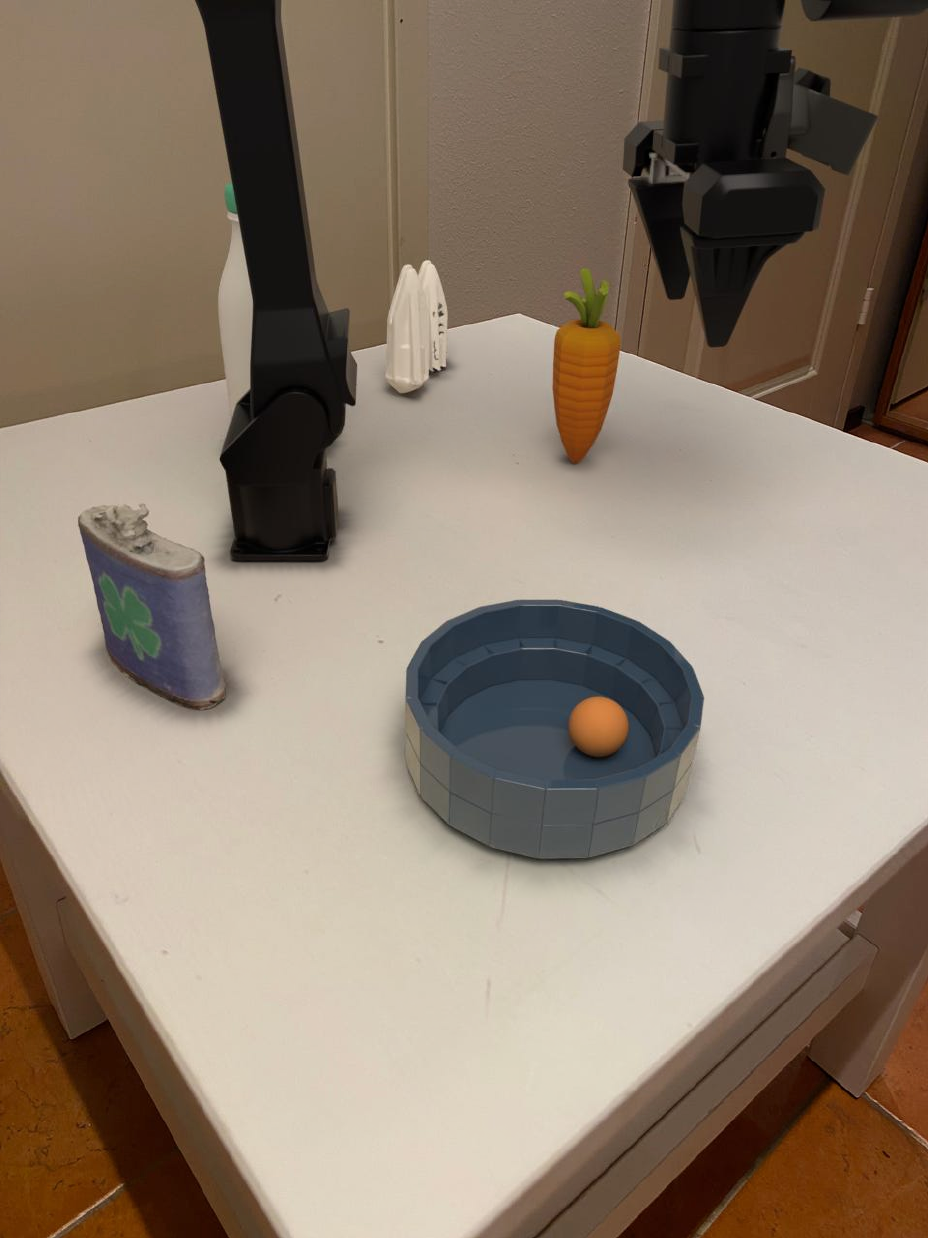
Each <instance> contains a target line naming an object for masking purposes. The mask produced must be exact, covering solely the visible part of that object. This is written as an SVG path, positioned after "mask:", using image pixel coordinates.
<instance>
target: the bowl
mask: <svg viewBox="0 0 928 1238" xmlns="http://www.w3.org/2000/svg"><path fill="white" fill-rule="evenodd" d="M404 697H405V698H404V699H405V741H406V742H405V746H406V747H405V748H406V749H405V751H406V767H407V770H408V771H409V773H410V775H411V776H410V777H411V779H412V780H413V783H414V785H415V787H416V789H417V792H418V794H419V796H420V797H421V799H422V800H424V802H426V804H427V805H428V806H430V808H431V809H432V810H433V811H434V812H436V814H437V815H438V816H440V818H441V819H442V820H443V821H444V822H445V823H446V824H447V825H448V826H450V827H451V828H454V829H456V830H458V831H460V832H461V833H463V834H465V835H467V836H469V837H471V838H472V839H475V840H477V841H479V842H480V843H482V844H484V845H485V846H487V847H490V848H492V849H497V850H500V851H504V852H509V853H513V854H517V855H521V856H525V857H530V858H533V859H587V858H593V857H596V856H597V857H598V856H600V855H603V854H608V853H610V852H614V851H617V850H622V849H625V848H628V847H631V846H634V845H635V844H637V843H639V842H640V841H641V840H643V839H644V838H646V837H647V836H649V835H651V834H652V833H653V832H655V831H656V830H658V829H659V828H661V827H662V826H664V825H666V823H668V821H669V820H670V818H671V817H672V816H673V814H674V812H675V811H676V809H677V808H678V806H679V805H680V804H681V802H682V800H683V798H684V797H685V795H686V794H687V789H688V785H689V781H690V776H691V771H692V767H693V762H694V759H695V754H696V750H697V746H698V741H699V737H700V731H701V728H702V722H703V721H702V720H703V711H704V704H705V703H704V702H705V695H704V693H703V690H702V688H701V684H700V682H699V680H698V677H697V674H696V672H695V668H694V667H693V665H692V664H691V663H690V662H689V660H687V659H686V658H685V657H684V655H683V654H682V653H681V652H680V651H679V650H678V649H677V647H676V646H675V645H674V643H672V641H670V640H669V639H667V638H665V637H664V636H662V635H661V634H660V633H658V632H657V631H655V630H654V629H651V628H650V627H648V626H647V625H646V624H644V623H642V622H641V621H639V620H637V619H634V618H632V617H629V616H627V615H623V614H621V613H618V612H616V611H612V610H610V609H608V608H605V607H603V606H602V607H601V606H598V605H593V604H587V603H580V602H576V601H569V600H565V599H514V600H508V601H503V602H497V603H493V604H486V605H482V606H478V607H476V608H474V609H470V610H469V611H467V612H463V613H462V614H460V615H456V616H454V617H453V618H449V619H448V620H446V621H445V622H444V623H442V624H441V625H439V627H438V628H436V629H435V630H433V632H431V633H430V634H429V635H427V636H426V637H425V638H424V639H422V641H421V642H420V643H419V645H418V647H417V648H416V651H415V652H414V654H413V656H412V658H411V659H410V662H409V663H408V665H407V667H406V670H405V696H404ZM591 697H605V698H608V699H611V700H613V701H615V702H616V703H617V704H619V705H620V706H621V708H622V709H623V710H624V712H625V714H626V716H627V719H628V724H629V731H628V736H627V738H626V741H625V742H624V744H623V745H622V747H621V748H620V749H619V750H617V751H616V752H614V753H613V754H611V755H608V756H603V757H595V756H590V755H587V754H585V753H583V752H582V751H580V750H579V749H578V748H577V747H576V746H575V745H574V743H573V741H572V740H571V737H570V734H569V729H568V723H569V718H570V715H571V713H572V711H573V709H574V708H575V707H576V706H577V705H578V704H579V703H580V702H582V701H583V700H585V699H588V698H591Z"/></svg>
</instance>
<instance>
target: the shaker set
mask: <svg viewBox="0 0 928 1238" xmlns="http://www.w3.org/2000/svg"><path fill="white" fill-rule="evenodd" d="M447 305H448V304H447V301H446V296H445V293H444V290H443V285H442V282H441V279H440V276H439V273H438V270H437V268H436V266H435V265H434V263H432V261H431V260H428V259H427V260H424V261H423V262H422V263H421V265H420V268H419V270H418V272H417V270H416V269H415V268H413V265H412V264H405V265H403V267H402V268H401V271H400V273H399V277H398V280H397V284H396V286H395V290H394V292H393V297H392V300H391V303H390V307H389V311H388V314H387V321H386V348H385V349H386V352H385V353H386V355H385V356H386V357H385V360H386V361H385V375H384V376H385V380H386V381H387V382H388V384H389V385H390V386H392V387H393V388H394V390H396V391H397V392H398V393H399V394H405V393H410V392H412V391H415V390H417V389H419V388H421V387H422V386H423V385H424V383H425V382H426V381H428V380H429V378H430V372H434V369H435V370H437V371H438V372H439V371H441V370H442V367H443V368H446V367H447V353H448V351H447V349H448V321H449V320H448V319H449V318H448V315H449V314H448V306H447Z"/></svg>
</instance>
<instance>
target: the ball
mask: <svg viewBox="0 0 928 1238" xmlns="http://www.w3.org/2000/svg"><path fill="white" fill-rule="evenodd" d="M568 729H569V734H570V737H571V740H572V741H573V743H574V745H575V746H576V747H577V748H578V749H579V750H580V751H582V752H583V753H585V754H587V755H590V756H595V757H603V756H608V755H611V754H613V753H614V752H616V751H617V750H619V749H620V748H621V747H622V745H623V744H624V742H625V741H626V738H627V736H628V731H629V724H628V719H627V716H626V714H625V712H624V710H623V709H622V708H621V706H620V705H619V704H617V703H616V702H615V701H613V700H611V699H608V698H605V697H591V698H588V699H585V700H583V701H582V702H580V703H579V704H578V705H577V706H576V707H575V708H574V709H573V711H572V713H571V715H570V718H569V723H568Z"/></svg>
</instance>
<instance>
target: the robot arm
mask: <svg viewBox="0 0 928 1238" xmlns="http://www.w3.org/2000/svg"><path fill="white" fill-rule="evenodd" d="M194 2H195V4H196V7H197V9H198V12H199V15H200V18H201V20H202V24H203V27H204V33H205V39H206V45H207V49H208V55H209V60H210V67H211V72H212V77H213V83H214V90H215V95H216V101H217V106H218V111H219V119H220V124H221V129H222V133H223V134H222V135H223V139H224V146H225V152H226V157H227V162H228V168H229V173H230V180H231V183H232V186H233V191H234V197H235V203H236V208H237V214H238V220H239V225H240V231H241V237H242V242H243V248H244V254H245V259H246V265H247V271H248V276H249V282H250V288H251V293H252V299H253V318H252V338H251V358H250V389H249V390H248V391H247V392H246V393H245V394H244V396H243V397H242V398H241V399H240V400H239V401H238V402H237V403H236V406H235V409H234V413H233V416H232V419H231V418H230V423H229V426H228V428H227V432H226V436H225V439H224V441H223V442H224V443H223V446H222V449H221V452H220V455H219V462H220V465H221V466H222V468H223V469H224V472H225V477H226V484H227V492H228V499H229V506H230V514H231V520H232V521H231V522H232V527H233V529H232V530H233V535H234V537H233V541H232V543H231V547H230V550H229V555H230V559H231V560H233V561H325V560H326V559H328V557H329V552H330V546H331V540H335V538H337V535H338V529H339V528H338V527H339V522H340V521H339V520H340V518H339V517H340V515H339V501H338V484H337V471H336V470H335V469H334V468H332V467H328V463H327V448H329V447H330V446H331V445H332V444H333V443H334V442H335V441H336V440H337V439H338V438H339V437H340V436H341V435H342V433H343V431H344V428H345V425H346V414H347V413H346V411H347V405H348V406H350V407H354V406H356V403H357V383H358V382H357V381H358V363H357V360H356V359H355V357H354V356H353V354H352V350H351V347H350V340H349V339H350V338H349V337H350V336H349V335H350V319H351V318H350V316H351V309H350V308H349V307H346V308H342V309H338V310H334V311H330V312H329V309H328V307H327V304H326V302H325V298H324V297H323V294H322V292H321V289H320V286H319V283H318V278H317V273H316V267H315V258H314V251H313V243H312V236H311V229H310V221H309V215H308V214H309V213H308V207H307V198H306V193H305V191H306V190H305V185H304V177H303V176H304V175H303V170H302V162H301V156H300V148H299V141H298V133H297V126H296V118H295V111H294V103H293V97H292V96H293V95H292V88H291V82H290V81H291V80H290V74H289V66H288V65H289V64H288V60H287V59H288V58H287V53H286V43H285V36H284V30H283V23H282V0H194ZM800 3H801V7H802V10H803V13H804V15H805V18H807V19H808V20H809V21H810V22H829V21H850V20H865V19H866V20H867V19H885V18H886V19H887V18H888V19H889V18H906V17H917V16H920V15H922V14H924V13H925V12H926V11H927V10H928V0H800ZM785 7H786V0H672V11H671V25H670V34H669V35H670V36H669V47H659V51H658V53H659V54H658V70H660V71H663V72H664V73H666V74H667V76H666V87H665V101H664V113H663V114H664V115H663V120H646V121H645V120H644V121H639V122H638V123H637V124H636V125H635V126H634V127H633V128H632V129H631V130H630V132H628V134H627V135H626V136H625V137H624V139H623V141H624V142H623V159H622V161H623V162H622V170H623V171H624V173H626V174H627V175H629V176H630V177H631V178H628V179H627V184H628V188H629V189H630V191H631V194H632V196H633V199H634V202H635V205H636V208H637V212H638V214H639V217H640V220H641V222H642V226H643V229H644V232H645V235H646V238H647V241H648V244H649V246H650V250H651V253H652V256H653V259H654V262H655V265H656V269H657V271H658V275H659V278H660V281H661V285H662V287H663V290H664V293H665V297H666V298H667V299H668V300H669V301H677V300H682V299H684V298H685V296H686V293H687V289H688V284H689V281H690V279H691V284H692V288H693V292H694V293H693V294H694V297H695V301H696V306H697V311H698V315H699V319H700V323H701V328H702V331H703V335H704V339H705V343H706V345H707V346H708V347H709V348H711V349H712V348H724V347H726V346H728V343H729V341H730V339H731V337H732V334H733V332H734V330H735V328H736V325H737V323H738V321H739V318H741V317H740V316H741V314H742V312H743V310H744V308H745V305H746V303H747V301H748V299H749V297H750V294H751V292H752V290H753V288H754V285H755V283H756V281H757V280H758V278H759V275H760V274H761V272H762V270H763V268H764V266H765V264H766V263H767V261H769V259H770V258H772V256H774V255H775V254H776V253H778V252H779V251H781V250H782V249H783V248H784V247H786V246H787V245H791V244H792V245H793V244H796V243H798V242H799V241H801V239H803V237H804V236H805V234H806V233H807V232H808V233H809V232H814V231H816V230H818V229H819V228H820V222H821V217H822V211H823V205H824V199H825V194H826V188H825V186H824V185H823V184H822V183H821V181H820V180H819V179H818V178H817V176H816V175H815V173H814V172H813V171H812V170H811V169H810V168H807V167H805V166H803V165H801V164H800V163H797V162H796V161H794V160H792V159H790V158H787V157H786V156H787V150H789V151H793V152H795V153H798V154H800V155H801V156H802V157H805V158H808V159H809V160H813V161H815V162H818V163H819V164H822V165H824V166H827V167H830V168H831V170H832V171H834V172H837V173H838V174H842V175H845V176H850V175H851V173H852V171H853V169H854V166H855V165H856V163H857V160H858V159H859V157H860V155H861V153H862V151H863V149H864V147H865V145H866V143H867V142H868V139H869V137H870V134H871V133H872V131H873V129H874V127H875V125H876V123H877V121H878V119H879V115H877V114H875V113H872V112H869V111H867V110H865V109H863V108H859V107H857V106H854V105H852V104H849V103H846V102H844V101H842V100H839V99H837V98H835V97H832V96H831V86H832V82H831V81H832V80H831V78H830V77H827V76H825V75H821V74H818V73H816V72H813V70H810V69H808V68H807V69H806V68H803V67H798V68H796V65H797V61H796V59H797V58H796V56H795V55H793V54H792V53H793V49H789V48H786V47H781V46H780V44H781V38H782V37H781V36H782V29H783V21H784V14H785V9H786V8H785Z"/></svg>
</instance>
